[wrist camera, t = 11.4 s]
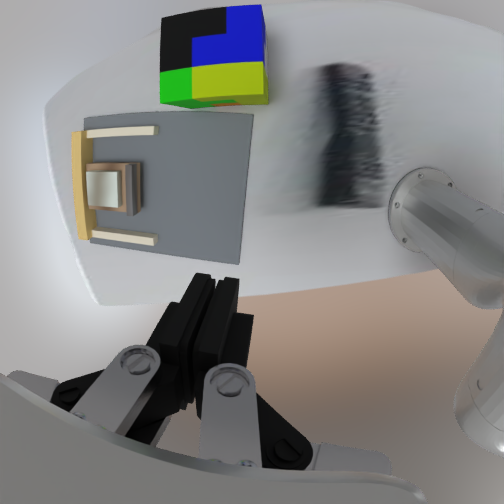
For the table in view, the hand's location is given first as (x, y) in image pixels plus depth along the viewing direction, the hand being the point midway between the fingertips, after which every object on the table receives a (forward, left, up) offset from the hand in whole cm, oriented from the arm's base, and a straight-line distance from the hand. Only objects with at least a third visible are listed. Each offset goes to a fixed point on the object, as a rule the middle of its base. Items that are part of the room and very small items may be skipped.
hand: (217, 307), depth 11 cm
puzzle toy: (+6, -14, -27) cm, 32 cm away
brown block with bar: (+21, +2, -27) cm, 34 cm away
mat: (+15, +2, -27) cm, 31 cm away
